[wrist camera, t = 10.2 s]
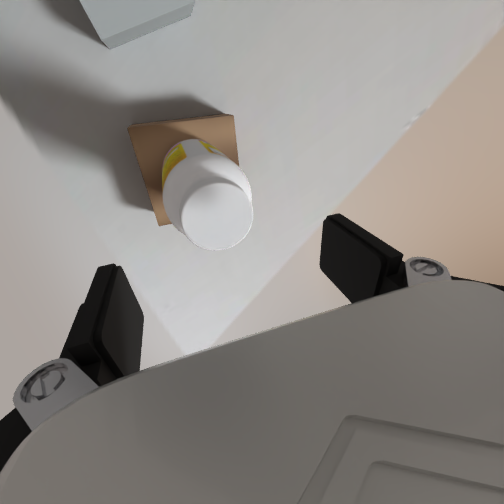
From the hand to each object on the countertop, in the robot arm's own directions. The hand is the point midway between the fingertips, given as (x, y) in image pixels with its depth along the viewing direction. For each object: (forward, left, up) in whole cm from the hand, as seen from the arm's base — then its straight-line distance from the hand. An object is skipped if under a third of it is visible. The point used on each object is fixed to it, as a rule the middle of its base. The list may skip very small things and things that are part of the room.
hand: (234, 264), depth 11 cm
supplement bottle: (0, 0, -18) cm, 18 cm away
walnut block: (0, 0, -22) cm, 22 cm away
